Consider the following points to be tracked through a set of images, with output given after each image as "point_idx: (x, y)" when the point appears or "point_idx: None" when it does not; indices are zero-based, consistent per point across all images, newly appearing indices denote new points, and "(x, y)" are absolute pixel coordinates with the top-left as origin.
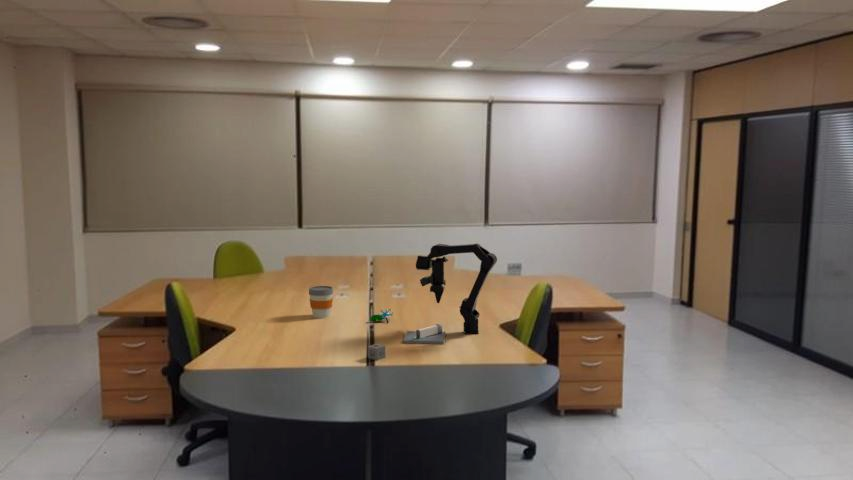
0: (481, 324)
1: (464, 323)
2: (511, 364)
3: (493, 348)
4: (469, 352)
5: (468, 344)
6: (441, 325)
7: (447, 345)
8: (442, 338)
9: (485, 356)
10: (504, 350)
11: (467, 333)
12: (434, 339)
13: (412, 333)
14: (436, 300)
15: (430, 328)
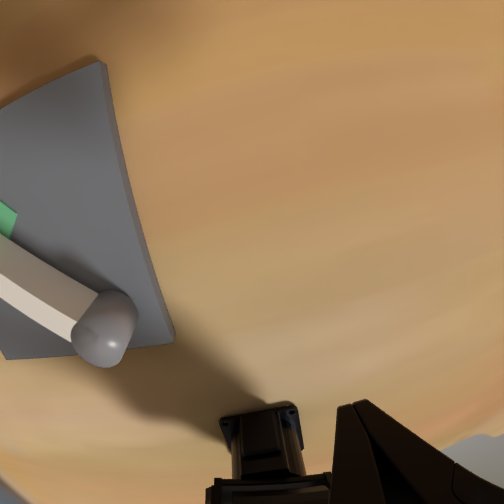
0: (414, 419)
1: (242, 455)
2: (10, 488)
3: (80, 486)
4: (3, 433)
5: (68, 437)
6: (95, 364)
7: (8, 369)
8: (35, 350)
9: (8, 461)
10: (83, 500)
11: (222, 428)
12: (2, 314)
13: (47, 129)
14: (336, 442)
15: (9, 299)
